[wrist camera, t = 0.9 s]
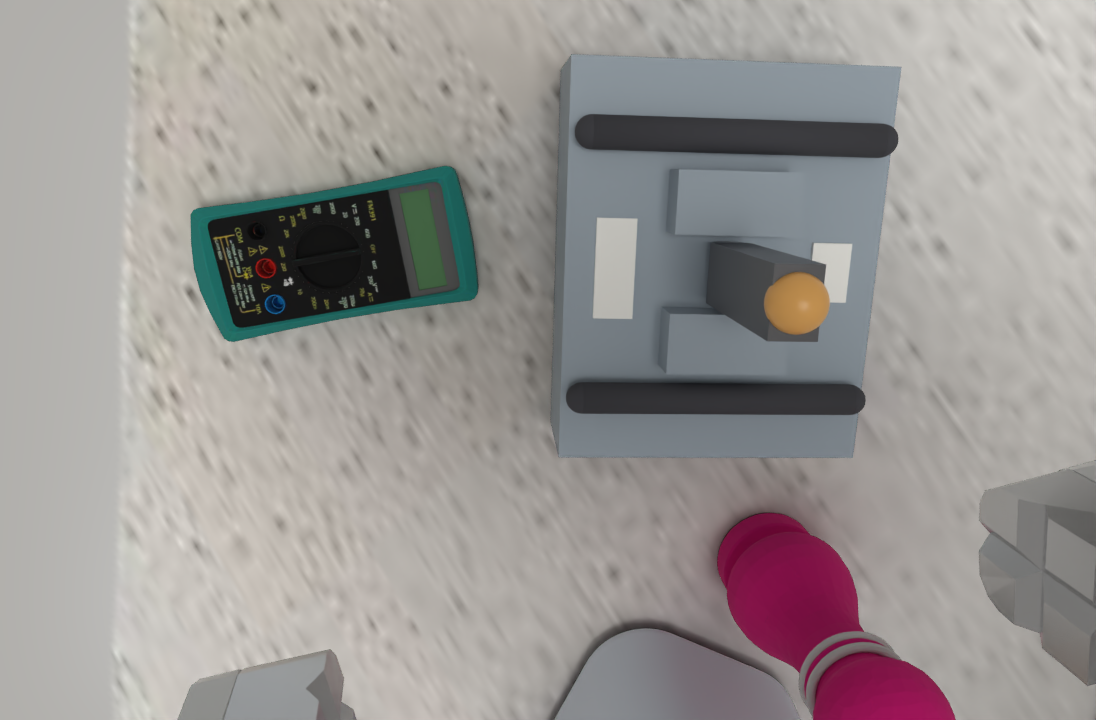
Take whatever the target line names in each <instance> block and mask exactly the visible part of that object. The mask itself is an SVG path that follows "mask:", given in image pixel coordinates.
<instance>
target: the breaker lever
mask: <svg viewBox="0 0 1096 720" xmlns="http://www.w3.org/2000/svg"><path fill="white" fill-rule="evenodd" d="M825 272H826V264H823V263H819V262H816V261H812V260H809V259H805V258H802V257H798V256H795V255H791V254H788V253H784V252H780V251H777V250H773V249H770V248H766V247H763V246H759V245H756V244H752V243H744V242H734V241H715V242H710V256H709V269H708V282H707V296H706V303H707V304H708V305H710V306H711V307H713V308H715V309H716V310H718V311H719V312H721V313H723V314H724V315H726V316H727V317H729V318H731V319H732V320H734V321H735V322H737V323H739V324H740V325H742V326H743V327H745V328H747V329H748V330H750V331H751V332H753V333H755V334H756V335H758V336H759V337H761V338H763V339H764V340H766V341H773V342H818V336H819V327H820V325H821V324H822V323H823V321H824V320H825V318H826V316H827V314H828V311H829V307H830V298H829V294H828V291H827V289H826V287H825V285H824V281H825Z"/></svg>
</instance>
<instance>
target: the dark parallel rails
mask: <svg viewBox="0 0 1096 720" xmlns="http://www.w3.org/2000/svg"><path fill="white" fill-rule="evenodd" d="M575 137H576V140H577V142H578V143H579V144H580V145H581V146H582V147H584V148H586V149H591V150H625V151H659V152H692V153H726V154H760V155H794V156H828V157H861V158H882V157H886V156H888V155H890V154H891V153H892V152H893V151H894V150H895V148H896V147H897V144H898V134H897V132H896V130H895V129H894V128H893V127H892V126H890V125H888V124H880V123H850V122H819V121H789V120H758V119H728V118H697V117H667V116H637V115H606V114H588V115H585V116H583V117H582V118H581V119H580V120H579V121H578V122H577V124H576V127H575ZM566 402H567V405H568V407H569V408H570V409H571V410H572V411H574V412H576V413H580V414H724V415H854V414H857V413H858V412H860V411H861V410H862V409H863V407H864V405H865V395H864V393H863V391H862V390H861V389H860V388H859V387H857V386H855V385H850V384H738V383H616V382H579V383H575V384H574V385H572V386H571V387H570V388H569V389H568V391H567V394H566Z"/></svg>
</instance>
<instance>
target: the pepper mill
mask: <svg viewBox="0 0 1096 720" xmlns="http://www.w3.org/2000/svg"><path fill="white" fill-rule="evenodd" d="M717 565H718V571H719V575H720V577H721V580H722V582H723V583H724V585H725V587H726V589H727V599H728V605H729V608H730V611H731V614H732V616H733V618H734V620H735V622H736V623H737V625H738V626H739V627H740V629H741V630H742V631H743V633H744V634H745V635H746V637H747V638H748V639H749V640H750V641H752V642H753V643H754V644H755V645H756V646H758V647H759V648H760V649H761V650H763V651H764V652H766V653H767V654H769V655H771V656H773V657H775V658H777V659H779V660H781V661H784V662H786V663H787V664H789V665H791V666H793V667H794V668H795V669H796V670H797V671H798V672H799V673H800V674H799V690H800V694H801V697H802V699H803V701H804V703H805V704H806V706H807V707H808V709H809V711H810V713H811V715H812V717H813V720H956V719H955V716H954V713H953V711H952V709H951V706H950V704H949V702H948V700H947V699H946V697H945V696H944V694H943V692H942V691H941V690H940V688H939V687H938V686H937V685H936V683H935V682H934V681H933V680H932V679H931V678H930V677H929V676H928V675H927V674H925V673H924V672H923V671H922V670H920V669H918V668H916V667H915V666H913V665H911V664H909V663H908V662H905V661H902V660H901V659H900V657H899V656H898V655H897V654H896V653H895V652H894V651H893V649H892V648H891V647H890V646H889V645H888V644H887V643H886V642H885V641H884V640H883V639H881V638H879V637H878V636H876V635H873V634H870V633H867V632H864V631H863V629H862V628H861V626H860V624H859V618H858V598H857V593H856V589H855V586H854V582H853V579H852V577H851V574H850V572H849V570H848V568H847V567H846V565H845V564H844V562H843V561H842V559H841V558H840V556H839V555H838V553H837V552H836V551H835V550H834V549H833V548H832V547H831V546H830V545H828V544H827V543H825V542H824V541H822V540H820V539H819V538H817V537H814V536H811V535H810V534H809V533H808V532H807V531H806V529H805V528H804V527H803V526H802V525H801V524H800V523H799V522H797V521H796V520H794V519H792V518H790V517H788V516H786V515H782V514H776V513H763V514H757V515H754V516H751V517H749V518H747V519H744V520H743V521H741V522H740V523H738V524H737V525H736V526H734V527H733V528H732V529H731V530H730V531H729V532H728V534H727V535H726V537H725V538H724V540H723V542H722V544H721V546H720V549H719V553H718V561H717Z"/></svg>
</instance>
